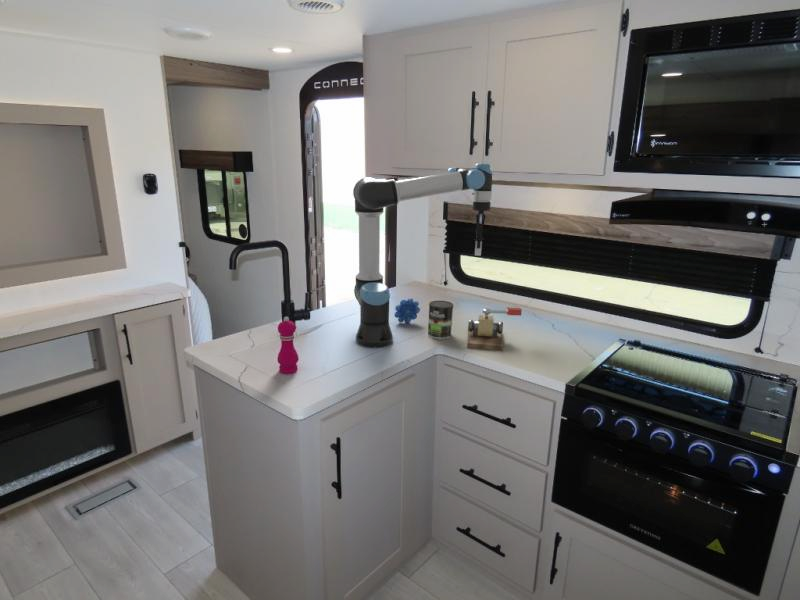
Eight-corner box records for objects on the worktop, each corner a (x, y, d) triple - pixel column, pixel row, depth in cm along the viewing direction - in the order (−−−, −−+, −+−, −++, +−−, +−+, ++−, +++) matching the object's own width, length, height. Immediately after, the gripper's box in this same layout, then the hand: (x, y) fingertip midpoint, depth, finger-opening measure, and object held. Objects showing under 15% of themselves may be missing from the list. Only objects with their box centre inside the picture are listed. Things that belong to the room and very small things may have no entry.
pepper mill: (300, 366, 175) (298, 313, 169) (297, 374, 168) (295, 320, 162) (280, 365, 175) (277, 313, 169) (276, 374, 168) (273, 320, 162)
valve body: (467, 336, 202) (469, 314, 199) (467, 331, 208) (469, 309, 205) (501, 339, 200) (504, 316, 197) (501, 334, 206) (503, 312, 203)
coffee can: (446, 341, 203) (447, 308, 198) (423, 336, 207) (425, 304, 203) (455, 333, 211) (457, 302, 207) (433, 329, 216) (435, 298, 212)
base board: (467, 347, 196) (467, 343, 196) (467, 330, 215) (468, 326, 215) (502, 350, 194) (502, 345, 194) (500, 333, 213) (500, 328, 213)
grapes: (419, 320, 227) (420, 295, 223) (419, 325, 220) (420, 299, 217) (394, 319, 227) (395, 295, 223) (394, 324, 220) (394, 299, 217)
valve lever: (483, 314, 200) (483, 308, 199) (482, 311, 203) (482, 306, 202) (521, 315, 199) (521, 310, 199) (519, 313, 202) (520, 307, 202)
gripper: (473, 199, 214) (469, 252, 221) (472, 201, 202) (469, 257, 208) (490, 200, 213) (486, 252, 220) (491, 202, 201) (486, 258, 207)
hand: (477, 255), depth 214 cm, fingers closed
